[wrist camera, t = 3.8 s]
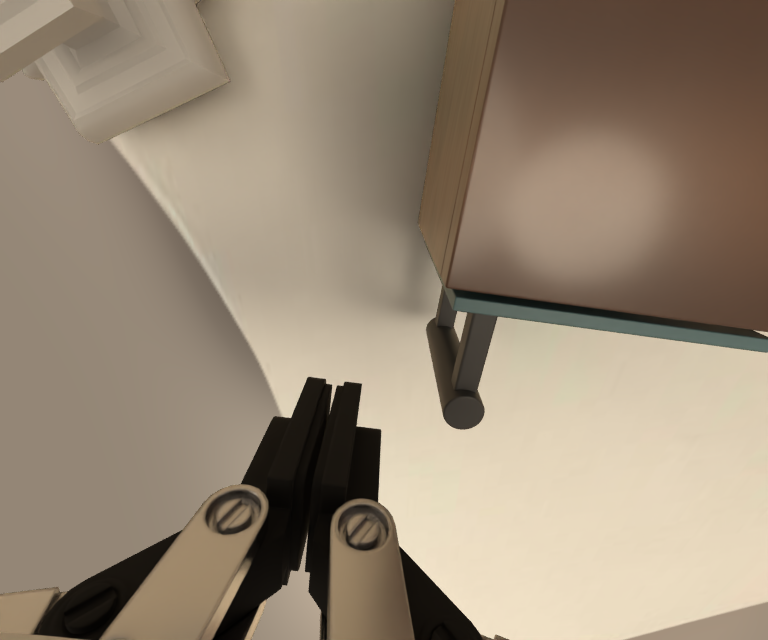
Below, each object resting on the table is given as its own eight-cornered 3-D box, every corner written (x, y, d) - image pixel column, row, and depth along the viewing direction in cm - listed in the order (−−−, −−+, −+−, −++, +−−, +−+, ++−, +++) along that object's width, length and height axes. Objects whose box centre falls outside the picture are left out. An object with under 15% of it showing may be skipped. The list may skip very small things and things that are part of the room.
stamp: (197, -102, 15) (-27, -409, 7) (275, 80, 17) (175, 9, 9) (22, 3, 16) (-329, -151, 8) (116, 158, 18) (-87, 152, 11)
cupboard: (739, 269, 20) (1101, 378, 10) (417, 224, 19) (444, 288, 9) (870, 19, 16) (1766, -256, 5) (462, -49, 15) (608, -493, 5)
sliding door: (563, 346, 21) (690, 480, 12) (409, 325, 20) (421, 447, 12) (595, 258, 19) (776, 340, 10) (425, 234, 18) (455, 296, 10)
